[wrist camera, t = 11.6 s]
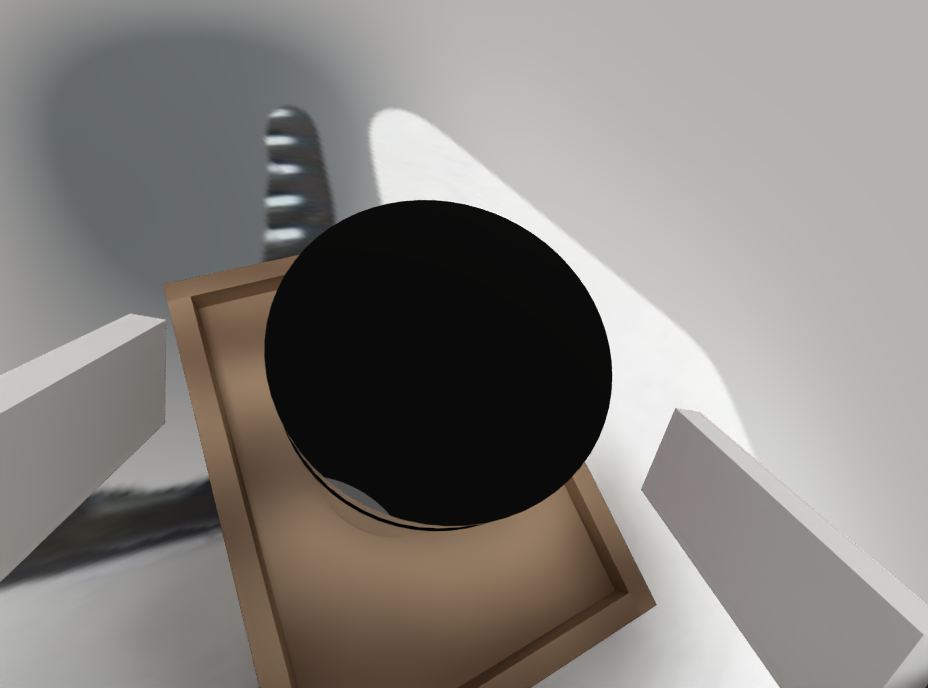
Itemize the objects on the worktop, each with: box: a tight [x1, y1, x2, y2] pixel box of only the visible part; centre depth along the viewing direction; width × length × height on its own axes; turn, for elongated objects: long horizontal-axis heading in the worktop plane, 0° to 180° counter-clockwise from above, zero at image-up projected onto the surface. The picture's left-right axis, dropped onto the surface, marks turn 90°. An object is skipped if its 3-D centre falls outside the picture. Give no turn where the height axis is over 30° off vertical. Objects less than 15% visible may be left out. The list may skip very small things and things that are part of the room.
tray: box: [163, 255, 657, 688], centre depth 18 cm, size 18×13×2 cm
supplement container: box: [264, 200, 612, 538], centre depth 13 cm, size 7×7×10 cm
